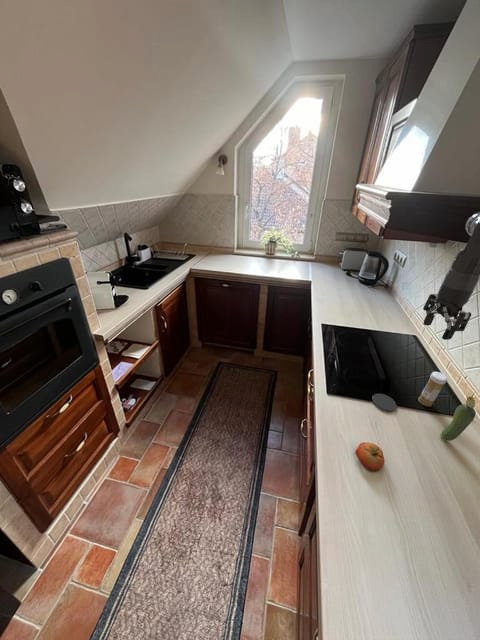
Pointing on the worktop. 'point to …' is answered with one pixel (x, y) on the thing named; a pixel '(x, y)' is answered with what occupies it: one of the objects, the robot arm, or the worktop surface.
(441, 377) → the sprinkles bottle
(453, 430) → the vegetable
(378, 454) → the tomato
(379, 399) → the slate coaster
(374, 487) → the worktop surface
